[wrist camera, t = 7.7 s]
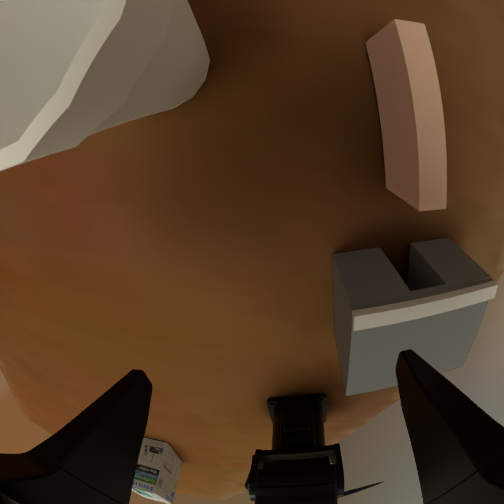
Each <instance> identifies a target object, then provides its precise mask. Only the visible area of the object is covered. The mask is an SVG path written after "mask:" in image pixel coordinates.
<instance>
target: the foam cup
mask: <svg viewBox="0 0 504 504" xmlns="http://www.w3.org/2000/svg"><path fill="white" fill-rule="evenodd" d="M209 63H210V58H209V55H208V51H207V48H206V44H205V41H204V38H203V36H202V34H201V31H200V29H199V26H198V24H197V22H196V19H195V17H194V14H193V12H192V10H191V7H190V5H189V3H188V0H0V171H2V170H5V169H8V168H11V167H13V166H16V165H19V164H22V163H25V162H28V161H31V160H35V159H38V158H41V157H44V156H47V155H50V154H53V153H57V152H60V151H64V150H67V149H71V148H75V147H77V146H78V145H79V144H80V143H81V142H82V141H83V140H84V139H85V138H86V137H87V136H89V135H92V134H95V133H97V132H100V131H103V130H105V129H108V128H111V127H114V126H117V125H120V124H123V123H126V122H129V121H132V120H135V119H138V118H142V117H145V116H149V115H152V114H156V113H159V112H163V111H167V110H171V109H174V108H176V107H178V106H179V105H181V104H183V103H184V102H186V101H187V100H189V99H191V98H192V97H193V96H194V95H195V94H196V92H197V91H198V90H199V88H200V87H201V85H202V84H203V83H204V81H205V80H206V77H207V72H208V67H209Z"/></svg>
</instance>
